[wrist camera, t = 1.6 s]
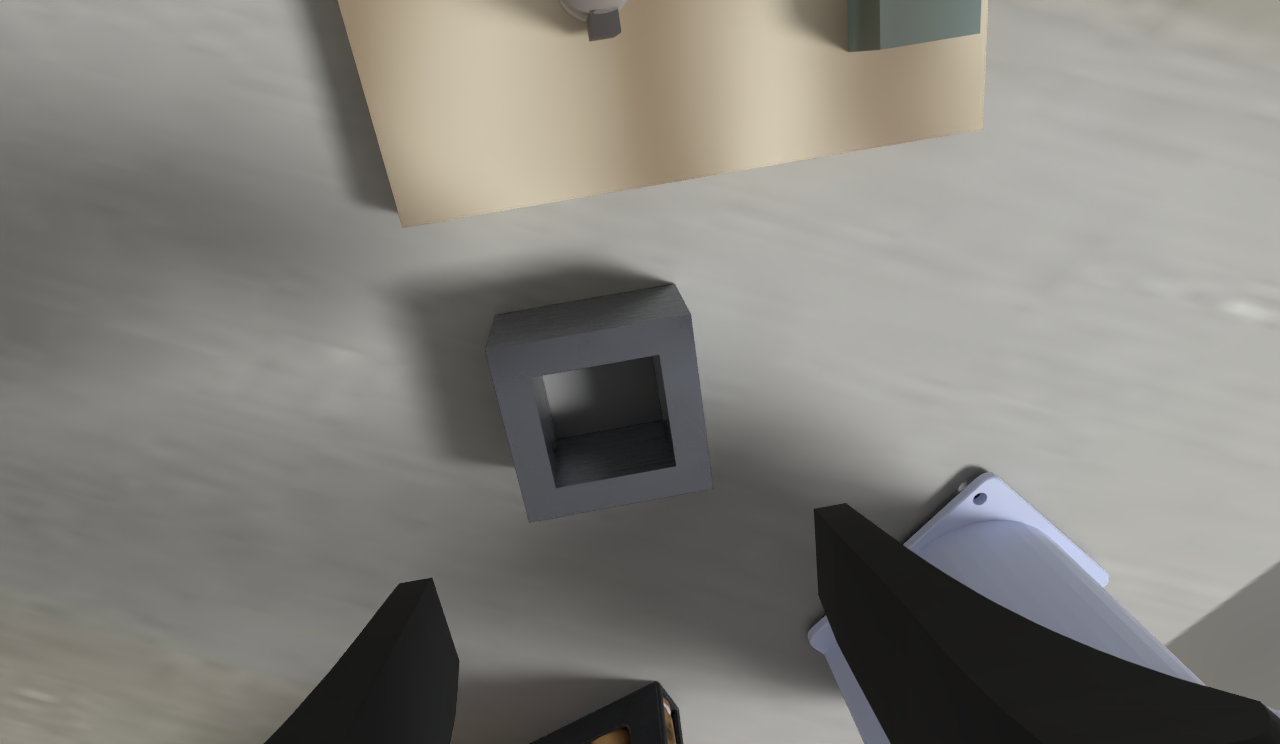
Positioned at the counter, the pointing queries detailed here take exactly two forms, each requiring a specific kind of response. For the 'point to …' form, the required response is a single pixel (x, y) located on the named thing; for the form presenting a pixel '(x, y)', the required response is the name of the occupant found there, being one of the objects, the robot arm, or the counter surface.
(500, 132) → the stand
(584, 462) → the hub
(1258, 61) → the counter surface
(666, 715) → the ammunition clip
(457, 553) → the counter surface
